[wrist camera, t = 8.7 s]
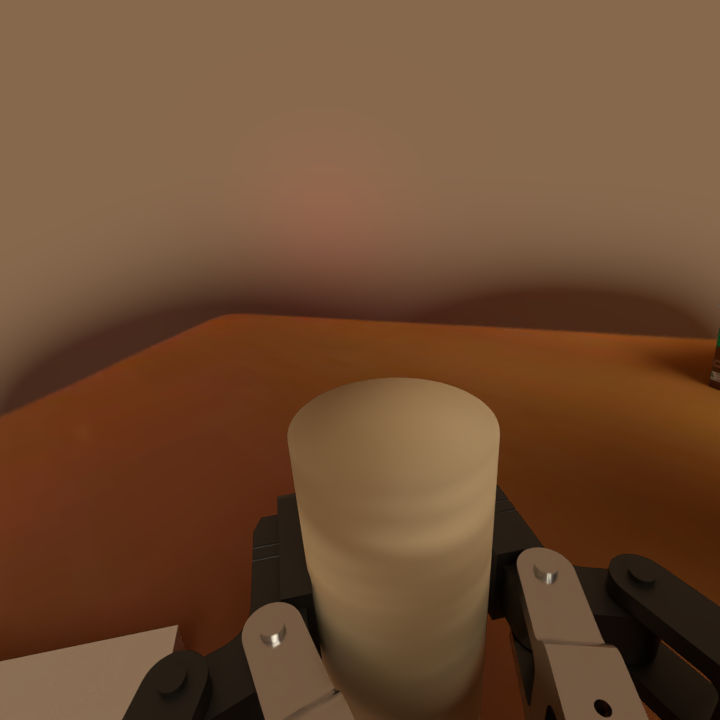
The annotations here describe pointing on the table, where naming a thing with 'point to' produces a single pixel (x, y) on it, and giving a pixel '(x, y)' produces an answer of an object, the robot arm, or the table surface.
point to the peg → (399, 542)
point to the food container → (716, 366)
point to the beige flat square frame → (83, 677)
